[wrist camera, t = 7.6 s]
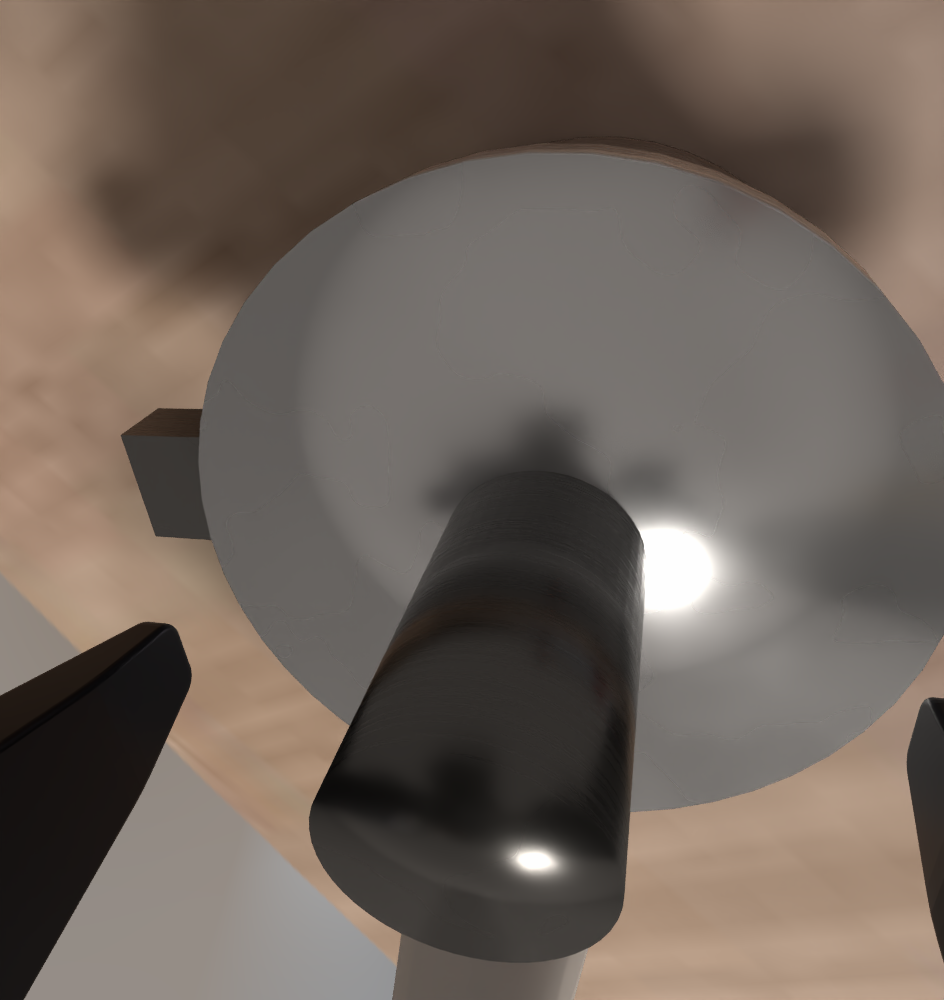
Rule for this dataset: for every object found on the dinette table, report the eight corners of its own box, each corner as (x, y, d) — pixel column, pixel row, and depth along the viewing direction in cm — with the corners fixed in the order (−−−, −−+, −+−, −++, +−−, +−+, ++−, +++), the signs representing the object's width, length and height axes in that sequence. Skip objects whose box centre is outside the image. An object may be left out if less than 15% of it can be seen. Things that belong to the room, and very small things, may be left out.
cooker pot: (1064, 104, 13) (1309, 150, 8) (934, 589, 18) (1031, 806, 13) (217, 162, 17) (15, 218, 12) (306, 548, 22) (192, 703, 17)
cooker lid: (1060, 110, 8) (1666, 237, 3) (870, 804, 14) (979, 1253, 9) (148, 168, 11) (-321, 285, 6) (300, 730, 16) (129, 1040, 11)
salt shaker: (412, 709, 24) (189, 1266, 13) (590, 692, 22) (499, 1337, 11) (475, 833, 26) (331, 1388, 16) (641, 829, 24) (606, 1466, 14)
